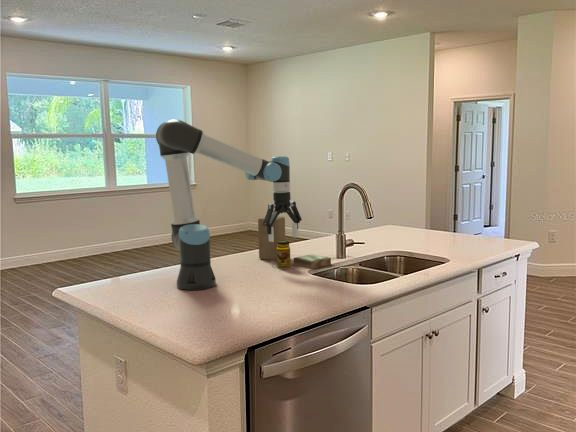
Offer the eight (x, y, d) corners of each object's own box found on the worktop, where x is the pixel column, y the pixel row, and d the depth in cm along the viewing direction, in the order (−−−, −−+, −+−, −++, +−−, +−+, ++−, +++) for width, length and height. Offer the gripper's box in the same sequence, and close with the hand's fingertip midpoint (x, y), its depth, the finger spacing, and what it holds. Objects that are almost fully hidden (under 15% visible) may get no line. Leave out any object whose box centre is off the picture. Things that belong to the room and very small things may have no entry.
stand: (311, 268, 226) (311, 261, 226) (293, 264, 235) (293, 257, 235) (330, 264, 234) (330, 257, 233) (313, 260, 243) (312, 253, 242)
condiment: (280, 270, 225) (279, 243, 223) (271, 266, 232) (271, 240, 230) (294, 268, 228) (294, 241, 226) (285, 264, 235) (285, 238, 234)
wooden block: (258, 259, 247) (257, 218, 244) (268, 255, 255) (267, 215, 253) (276, 261, 242) (275, 219, 239) (286, 257, 251) (285, 216, 248)
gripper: (264, 194, 215) (266, 244, 218) (308, 189, 230) (309, 236, 233) (253, 193, 220) (255, 242, 223) (297, 189, 236) (299, 234, 239)
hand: (283, 239), depth 228 cm, fingers open, 13 cm apart
